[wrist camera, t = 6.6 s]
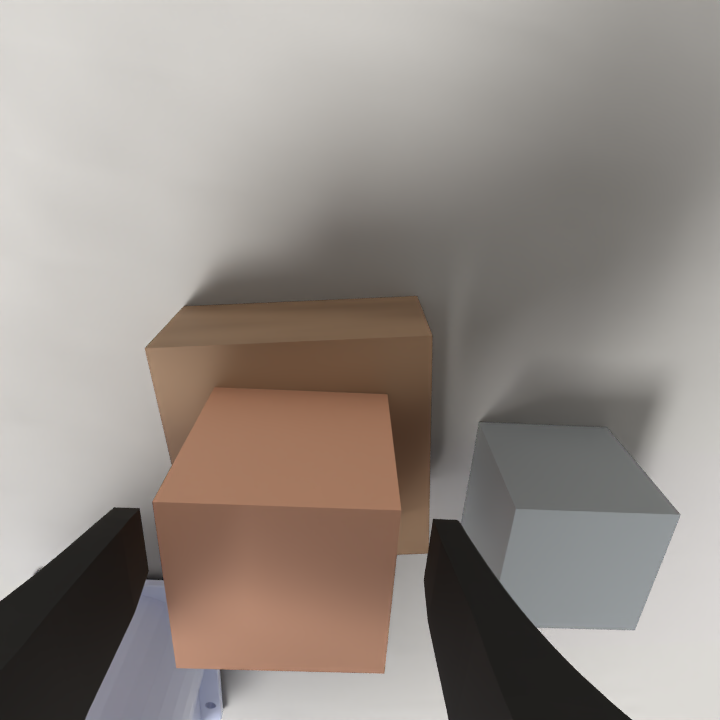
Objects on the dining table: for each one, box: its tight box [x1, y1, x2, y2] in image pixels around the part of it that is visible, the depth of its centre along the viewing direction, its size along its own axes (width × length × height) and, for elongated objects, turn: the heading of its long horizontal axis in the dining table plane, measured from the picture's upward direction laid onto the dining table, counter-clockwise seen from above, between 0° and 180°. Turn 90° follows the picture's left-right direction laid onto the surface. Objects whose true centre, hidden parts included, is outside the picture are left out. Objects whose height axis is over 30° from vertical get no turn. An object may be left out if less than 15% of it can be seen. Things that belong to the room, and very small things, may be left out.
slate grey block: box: [461, 422, 680, 630], centre depth 19 cm, size 5×5×5 cm
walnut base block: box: [145, 296, 433, 555], centre depth 18 cm, size 8×8×4 cm
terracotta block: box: [152, 387, 401, 673], centre depth 14 cm, size 5×5×5 cm
